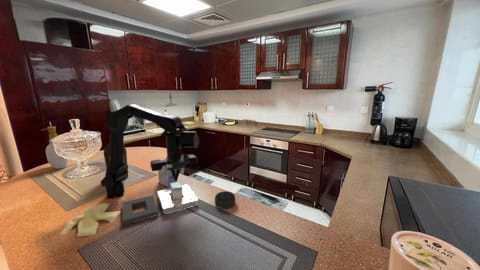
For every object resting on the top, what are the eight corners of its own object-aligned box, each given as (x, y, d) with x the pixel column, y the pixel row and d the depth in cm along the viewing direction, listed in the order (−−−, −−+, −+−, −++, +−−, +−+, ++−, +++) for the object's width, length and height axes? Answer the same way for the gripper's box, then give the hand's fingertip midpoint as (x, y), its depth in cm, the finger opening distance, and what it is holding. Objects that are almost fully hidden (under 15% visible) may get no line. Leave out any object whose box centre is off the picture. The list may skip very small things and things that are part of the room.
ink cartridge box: (178, 184, 104) (176, 158, 101) (169, 188, 100) (167, 161, 97) (167, 179, 110) (165, 154, 107) (158, 182, 106) (156, 157, 103)
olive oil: (105, 177, 111) (99, 134, 105) (126, 172, 118) (121, 131, 113) (109, 184, 103) (103, 138, 98) (131, 178, 111) (126, 135, 105)
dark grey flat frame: (123, 225, 72) (122, 220, 72) (122, 206, 84) (122, 202, 83) (158, 215, 78) (157, 211, 78) (153, 199, 90) (153, 195, 89)
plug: (173, 206, 85) (172, 189, 83) (171, 199, 90) (170, 183, 88) (183, 203, 87) (182, 186, 85) (180, 197, 92) (179, 181, 90)
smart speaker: (222, 196, 93) (222, 188, 92) (238, 202, 89) (238, 194, 88) (210, 205, 86) (210, 197, 85) (227, 212, 81) (227, 203, 80)
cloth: (101, 202, 88) (99, 190, 86) (132, 211, 81) (131, 198, 80) (36, 236, 67) (32, 220, 66) (71, 251, 61) (67, 234, 60)
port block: (163, 215, 78) (163, 207, 77) (157, 197, 92) (157, 190, 91) (198, 205, 85) (197, 198, 84) (187, 190, 99) (187, 183, 98)
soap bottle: (43, 168, 123) (34, 127, 118) (60, 163, 131) (52, 124, 126) (56, 171, 118) (47, 129, 112) (73, 166, 126) (66, 126, 120)
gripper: (152, 154, 71) (155, 194, 75) (201, 148, 81) (202, 183, 84) (148, 147, 81) (151, 182, 84) (193, 142, 90) (194, 174, 93)
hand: (175, 180), depth 86 cm, fingers closed
